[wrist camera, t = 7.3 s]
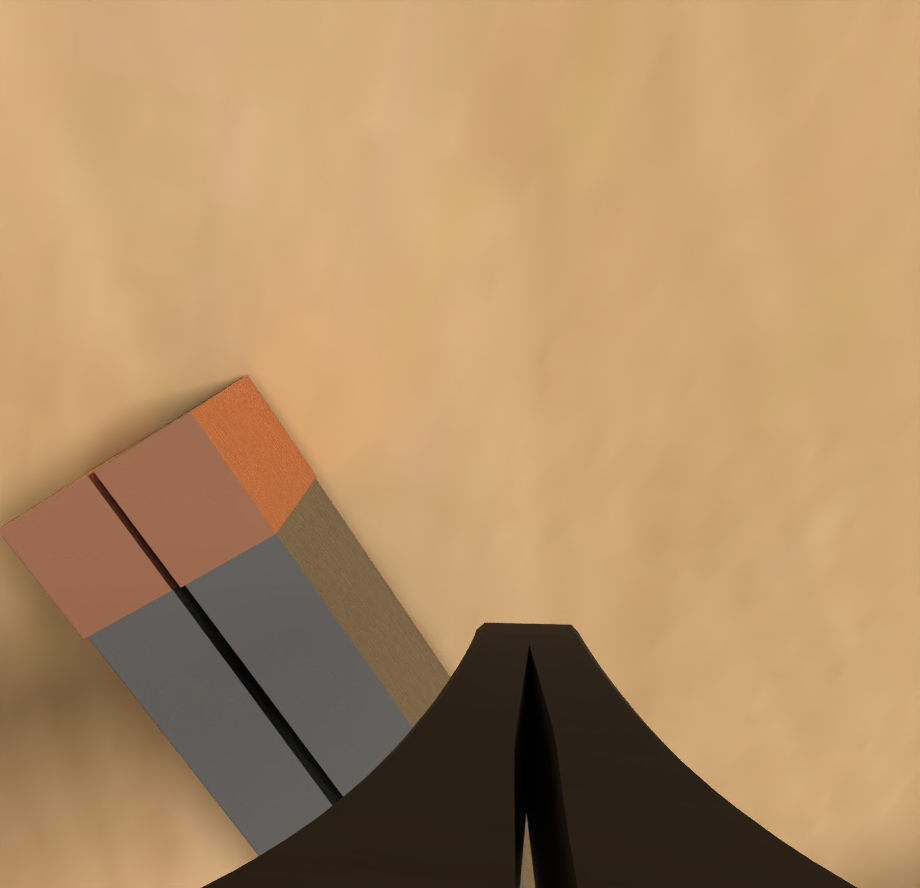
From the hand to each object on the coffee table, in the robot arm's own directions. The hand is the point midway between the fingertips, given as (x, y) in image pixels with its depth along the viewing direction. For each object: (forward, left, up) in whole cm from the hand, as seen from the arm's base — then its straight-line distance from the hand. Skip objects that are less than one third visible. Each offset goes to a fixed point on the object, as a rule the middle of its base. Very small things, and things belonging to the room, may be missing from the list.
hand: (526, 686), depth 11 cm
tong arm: (-5, +6, -9) cm, 12 cm away
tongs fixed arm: (-3, +8, -9) cm, 13 cm away
